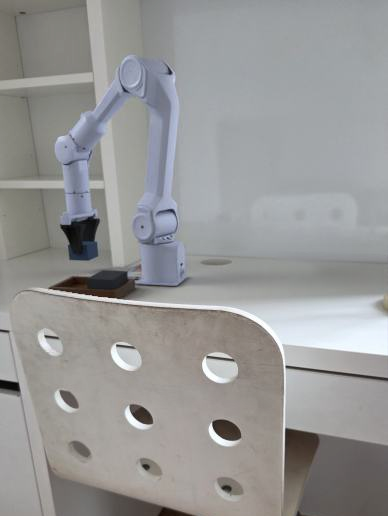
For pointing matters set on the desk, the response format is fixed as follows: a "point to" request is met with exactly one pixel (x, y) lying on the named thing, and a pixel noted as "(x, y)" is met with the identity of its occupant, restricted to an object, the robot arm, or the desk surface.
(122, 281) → the charcoal pad
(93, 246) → the navy blue cube
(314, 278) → the desk surface
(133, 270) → the smartphone
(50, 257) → the desk surface
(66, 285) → the pad tray
